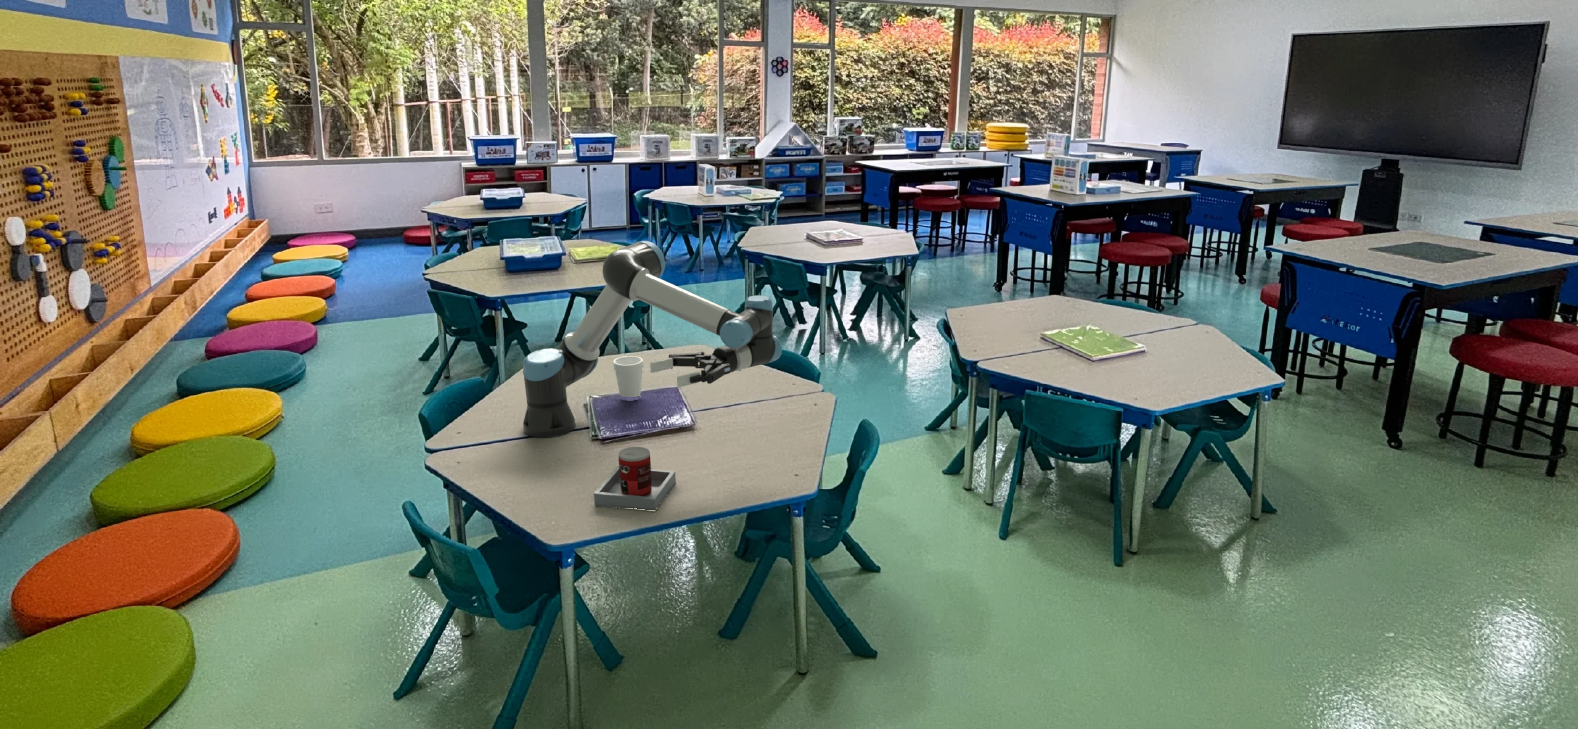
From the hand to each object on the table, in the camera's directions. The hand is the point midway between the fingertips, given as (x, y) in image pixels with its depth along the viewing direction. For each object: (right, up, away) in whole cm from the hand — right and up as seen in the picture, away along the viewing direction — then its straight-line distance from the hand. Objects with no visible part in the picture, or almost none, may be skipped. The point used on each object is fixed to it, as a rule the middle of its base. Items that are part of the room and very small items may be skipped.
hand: (664, 374), depth 240 cm
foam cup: (-19, -8, +60) cm, 64 cm away
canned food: (-7, -30, -3) cm, 31 cm away
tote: (-7, -31, -3) cm, 32 cm away
